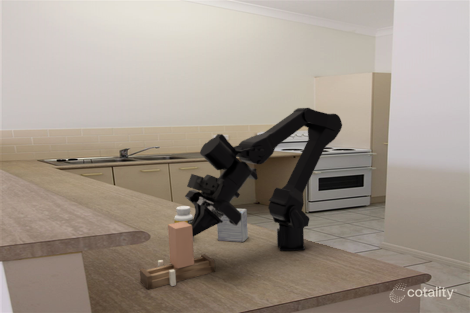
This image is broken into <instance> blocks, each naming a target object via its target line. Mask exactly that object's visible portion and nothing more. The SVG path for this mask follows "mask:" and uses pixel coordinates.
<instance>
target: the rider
mask: <svg viewBox="0 0 470 313" xmlns="http://www.w3.org/2000/svg"><path fill="white" fill-rule="evenodd" d="M167 230H168V231H167V232H168V235H167V236H168V248H169V250H168V251H169V263H170V264H173V265H174V269H175V268H182V267H186V266H190V265H194V258H195V256H194V254H195V253H194V240H193V233H192V225H190V224H188V223H186V222H184V221H183V222H178V223H169V224H168V223H167Z"/></svg>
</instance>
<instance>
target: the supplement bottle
mask: <svg viewBox="0 0 470 313" xmlns="http://www.w3.org/2000/svg"><path fill="white" fill-rule="evenodd" d="M175 210H176V211H175V212H176V213H175V216H174V218H173V220H174V223H178V222H183V221H184V222H186V223H188V224H190V225H191V224H192V221H193V218H194V215H193V214H192V213H191V206H188V205H181V206H177V207H176V209H175ZM194 239H195V236H194V237H193V241H194Z"/></svg>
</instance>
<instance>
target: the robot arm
mask: <svg viewBox="0 0 470 313" xmlns="http://www.w3.org/2000/svg"><path fill="white" fill-rule="evenodd" d="M304 127H305V128H307V138H308V139H307V142H306V144H305V146H304V147H303V150H302V152H301V154H300V156H299V158H298V160H297V162H296V163H295V166H294V168H293V170H292V172H291V174H290V176H289V178H288V180H287V182H286V184H285V185H284V186H283V187H282V188H279V187H275V189H274V190H273V193H272V195H271V197H270V198H269V199H268V201H269V203H268V211H269V214H270V216H271V217H272V219H273V221H274V223H277V224H278V228H277V229H276V244H277V247H279V251H305V250H306V246H305V242H304V241H305V239H304V229H305V227H308V226H309V223H310V217H309V216H308V215H307V214H306V213H305V212H304V211H303V207H304V204H305V203H304V192H305V190H306V188H307V186H308V183H309V182H310V179H311V177H312V175H313V174H314V171H315V168H316V167H317V165H318V163H319V160H320V158H321V156H322V155H323V153H324V150H325V148H326V147H327V146H328V145H330V143H332V142H333V141H334V140H335V139H336V138H337V137H338V135H339V134H340V132H341V131H342V128H343V123H342V120H341V117H340V116H339V115H338V114H336V113H326V112H324V111H318V110H315V109H314V108H313V109H312V108H310V107H298V108H296V109H294V110H293V112H292V113H290V114H289V115H288V116H286V117H284V118H283V119H281V120H280V121H279V122H277V123H276V124H274V125H273V126H272V127H270V128H269V129H267V130H266V131H264V132H262V133H261V134H256V135H254V136H251V137H249V138H246V139H244V140H242V141H240V143H239V144H238V145H235V146H233V145H232V144H231V143H230V142H229V141H228V139H227V138H226V137H225V135H224V134H222V133H217V134H216V136H214V137H213V138H211V139H209V140H208V141H207V142H205V143H204V144H203V145H202V146H201V148H200V152H199V154H200V156H201V157H203V158H204V159H205V160H206V161H207V162H208V163H209V164H210V166H212V167H213V168H214V169H215V170H217V171H223V172H222V173H221V174H220V175H219V177H216V176H213V175H211V174H206V175H204V177H203V176H201V175H197V174H194V173H191V174H190V177H189V180H188V182H187V186H186V187H187V188H189V189H190V190H188V192H187V193H186V194H185V195H184V197H185V198H186V200H188V201H189V202H190V203H191V204H192V205H194V210H195V212H194V215H193V221H192V224H191V225H192V233H193V237H194V238H195V236H197V235H199V234H201V233H202V232H205V231H207V230H208V229H210V228H212V227H214V226H217V224H219V223H222V222H223V221H222V220H221V219H222V217H223V216H224V215H225V216H226V217H227V218H228V219H229V222H230V223H231V224H233V225H236V226H237V225H238V224H239V222H240V221H241V219H242V215H241V213H240V212H239V211H238V210H237V209H238V208H236V206H234V205H233V204H232V203H231V202H232V200H233V199H234V198H237V199H238V198H239V196H241V194H240V193H239V191H240V189H241V188H242V187H243V185H244V184H245V183H246V182H247V181H248V179H251V180H255V181H257V180H258V179H259V178H258V174H257V173H258V172H257V167H256V168H254V167H250V165H249V164H253V165H262V164H264V163H265V162H267V161H268V159H270V158H271V156H273V154H274V152H275V150H276V148H277V147H278V146H279V145H280V144H281V143H283V142H284V141H286V140H287V139H288V138H289V137H291V136H292V135H294V134H295V133H297V132H298V131H299V130H300V129H302V128H304ZM191 189H192V190H191Z"/></svg>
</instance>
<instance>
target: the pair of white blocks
mask: <svg viewBox="0 0 470 313" xmlns="http://www.w3.org/2000/svg"><path fill="white" fill-rule="evenodd" d="M161 266H165V265H164V260H163V259H161V260H160V259H159V260H157V267H161ZM169 277H170V284H169V286H171V287H173V286H177V282H176V276H175V270H174V269H173V270H169Z"/></svg>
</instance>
